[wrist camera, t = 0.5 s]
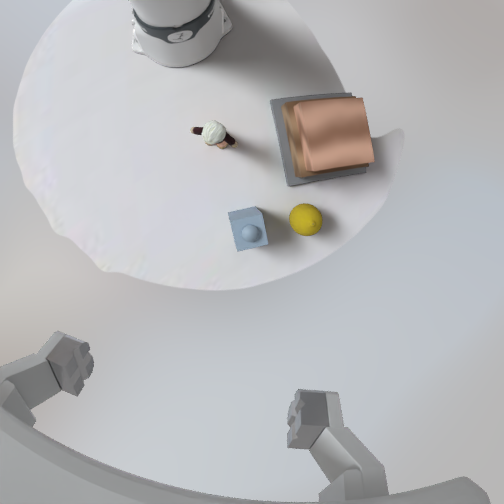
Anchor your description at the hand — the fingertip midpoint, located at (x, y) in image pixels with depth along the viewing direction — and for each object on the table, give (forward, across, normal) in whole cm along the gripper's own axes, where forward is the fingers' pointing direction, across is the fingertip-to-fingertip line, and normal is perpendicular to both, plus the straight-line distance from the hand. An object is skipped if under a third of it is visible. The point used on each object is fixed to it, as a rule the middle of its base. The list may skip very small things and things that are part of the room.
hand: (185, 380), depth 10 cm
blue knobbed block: (+43, +1, +9) cm, 44 cm away
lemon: (+46, -9, +7) cm, 47 cm away
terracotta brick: (+48, -10, -9) cm, 50 cm away
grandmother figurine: (+44, +8, -5) cm, 45 cm away
